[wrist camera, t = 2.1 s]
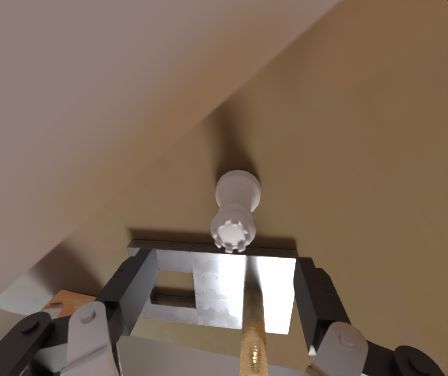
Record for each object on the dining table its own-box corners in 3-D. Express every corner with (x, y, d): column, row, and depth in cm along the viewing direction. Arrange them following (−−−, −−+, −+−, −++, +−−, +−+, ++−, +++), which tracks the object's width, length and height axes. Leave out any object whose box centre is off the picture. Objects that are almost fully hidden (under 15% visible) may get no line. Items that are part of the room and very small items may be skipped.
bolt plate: (296, 249, 24) (323, 340, 15) (285, 322, 28) (300, 422, 20) (133, 239, 26) (73, 312, 17) (148, 308, 31) (107, 393, 22)
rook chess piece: (208, 178, 21) (186, 221, 14) (250, 160, 20) (250, 199, 13) (227, 214, 23) (216, 270, 16) (267, 200, 22) (275, 254, 14)
